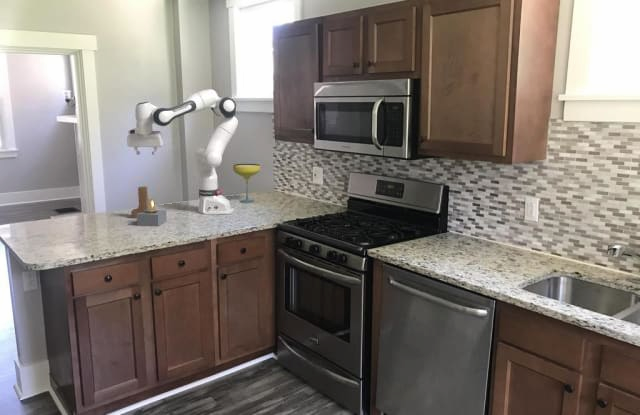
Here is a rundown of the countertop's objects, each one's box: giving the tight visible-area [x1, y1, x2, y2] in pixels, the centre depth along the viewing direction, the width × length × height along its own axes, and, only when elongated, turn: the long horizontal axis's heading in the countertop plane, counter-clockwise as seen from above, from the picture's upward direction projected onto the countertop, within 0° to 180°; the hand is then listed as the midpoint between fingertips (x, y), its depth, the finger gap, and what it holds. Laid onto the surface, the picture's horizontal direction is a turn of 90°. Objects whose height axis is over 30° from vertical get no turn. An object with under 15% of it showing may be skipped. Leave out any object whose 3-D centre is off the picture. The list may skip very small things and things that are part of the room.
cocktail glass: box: [232, 163, 261, 204], centre depth 356 cm, size 18×18×25 cm
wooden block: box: [130, 186, 149, 219], centre depth 305 cm, size 9×4×18 cm, turn 99°
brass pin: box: [147, 198, 156, 213], centre depth 291 cm, size 4×4×12 cm
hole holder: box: [136, 209, 167, 227], centre depth 291 cm, size 12×12×6 cm
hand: (146, 154), depth 304 cm, fingers open, 8 cm apart
